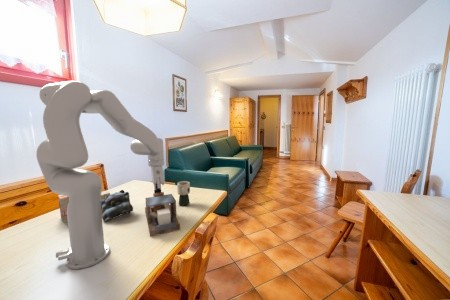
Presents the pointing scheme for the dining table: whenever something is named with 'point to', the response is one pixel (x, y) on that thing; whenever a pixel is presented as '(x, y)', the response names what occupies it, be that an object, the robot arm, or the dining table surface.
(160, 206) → the sled
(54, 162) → the robot arm
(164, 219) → the block
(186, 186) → the character mug
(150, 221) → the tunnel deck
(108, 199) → the lucky cat figurine
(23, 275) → the dining table surface
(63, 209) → the stack of blocks
